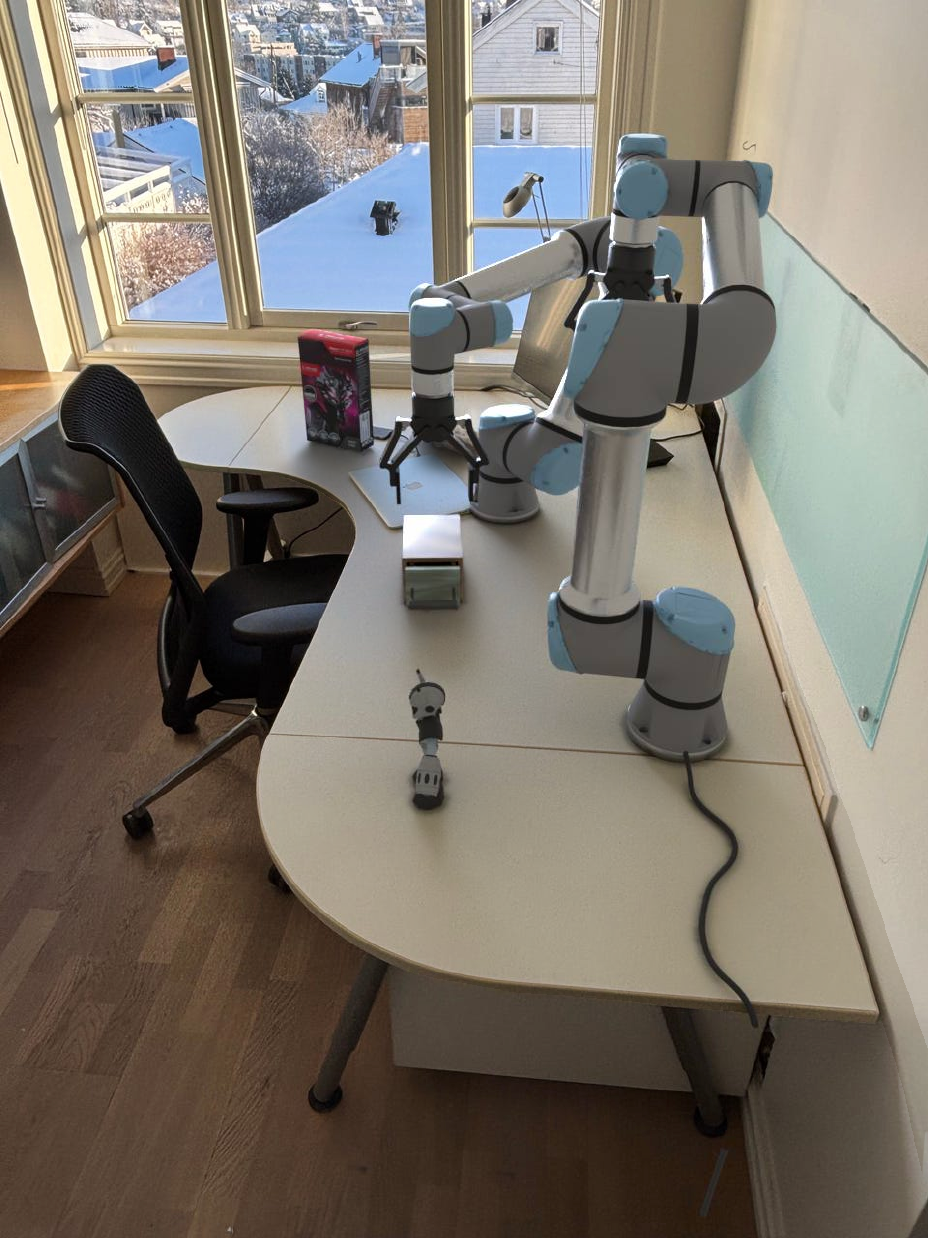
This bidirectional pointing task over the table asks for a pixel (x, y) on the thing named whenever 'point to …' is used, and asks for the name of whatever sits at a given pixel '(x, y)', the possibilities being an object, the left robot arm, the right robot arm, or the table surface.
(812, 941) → the table surface
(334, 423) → the graphics card box
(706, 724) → the right robot arm
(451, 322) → the left robot arm
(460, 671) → the table surface
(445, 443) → the stone
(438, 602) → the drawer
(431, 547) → the cabinet
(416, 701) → the robot
